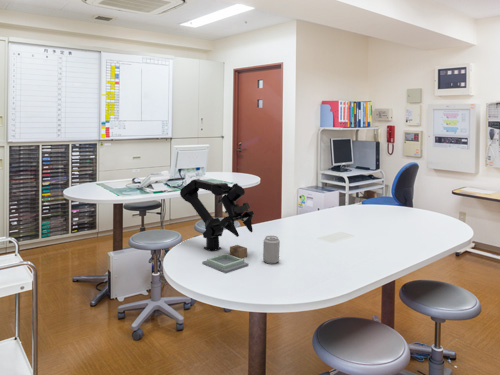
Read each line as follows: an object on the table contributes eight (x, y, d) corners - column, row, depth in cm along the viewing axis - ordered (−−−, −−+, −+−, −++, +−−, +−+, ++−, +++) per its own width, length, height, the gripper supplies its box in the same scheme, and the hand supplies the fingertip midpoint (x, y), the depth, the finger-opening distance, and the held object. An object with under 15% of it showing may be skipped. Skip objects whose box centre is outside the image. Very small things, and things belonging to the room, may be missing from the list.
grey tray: (202, 263, 190) (202, 258, 189) (225, 257, 200) (225, 252, 199) (225, 273, 179) (225, 267, 178) (248, 265, 189) (248, 260, 188)
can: (265, 264, 190) (266, 239, 189) (261, 259, 198) (261, 235, 196) (281, 263, 192) (282, 238, 191) (275, 258, 200) (276, 234, 198)
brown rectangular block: (229, 255, 203) (229, 246, 202) (237, 253, 206) (237, 244, 205) (239, 259, 198) (239, 250, 197) (246, 257, 201) (247, 248, 200)
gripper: (224, 200, 189) (240, 230, 184) (252, 194, 202) (268, 222, 197) (212, 212, 196) (227, 241, 191) (240, 205, 209) (255, 232, 205)
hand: (245, 234), depth 196 cm, fingers open, 9 cm apart
